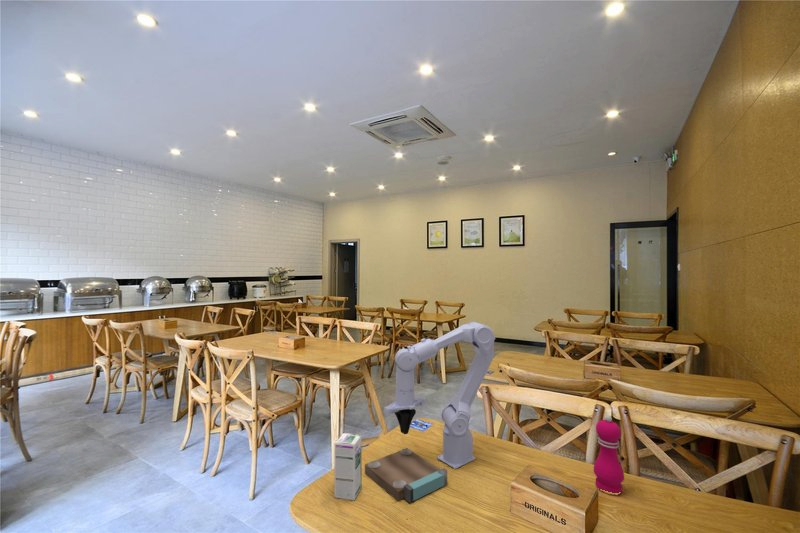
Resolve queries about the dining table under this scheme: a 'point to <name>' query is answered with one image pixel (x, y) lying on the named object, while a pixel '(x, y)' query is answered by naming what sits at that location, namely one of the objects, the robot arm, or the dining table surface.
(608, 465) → the pepper mill
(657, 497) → the dining table surface
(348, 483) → the syrup box
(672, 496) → the dining table surface
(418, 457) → the stool seat
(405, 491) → the stool leg
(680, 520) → the dining table surface
